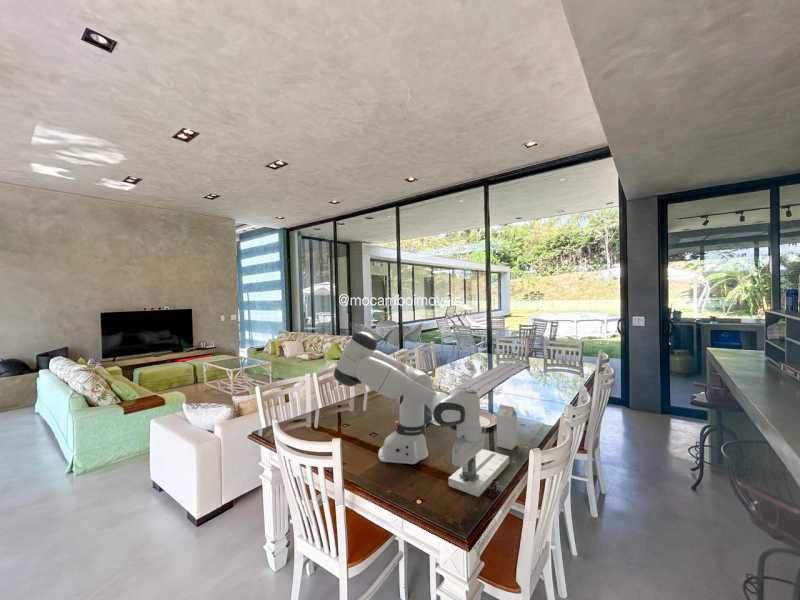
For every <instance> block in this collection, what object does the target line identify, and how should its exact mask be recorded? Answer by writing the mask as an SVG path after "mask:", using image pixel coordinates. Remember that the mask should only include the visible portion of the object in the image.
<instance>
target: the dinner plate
mask: <svg viewBox="0 0 800 600" xmlns="http://www.w3.org/2000/svg"><path fill="white" fill-rule="evenodd" d="M479 420H480V425H482V426H485V427H486V429H488V428H491V427H493V426H495V425H497V416H496V415H494V414H492V413H490V412H487V411H485V410H480V416H479Z"/></svg>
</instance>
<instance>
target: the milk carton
mask: <svg viewBox="0 0 800 600" xmlns="http://www.w3.org/2000/svg"><path fill="white" fill-rule="evenodd" d="M496 418H497V423H496V446H497V447H498V448H502V449H506V450H509V451H510V450H511V451H512V450H514V448H516V447H517V446H518V415H517V411H516V410H515V407H514V406H511V405H510V406H509V405H505V404H499V405H498V410H497V413H496Z"/></svg>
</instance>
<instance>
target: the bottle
mask: <svg viewBox="0 0 800 600" xmlns="http://www.w3.org/2000/svg"><path fill="white" fill-rule="evenodd" d="M418 370H421V371H423V372H425V373H426V374H427V375H428V374H429V373H428V372H429V371H428V369H427V368H425V367H420V368H418ZM428 376H429V375H428ZM431 420H432V421H433V415H432V412H431V410H430V409H429V408H428V406H427V405H425V404H424V422H425V424H427V423H426V422H429V423H431V422H432V421H431ZM430 421H431V422H430Z"/></svg>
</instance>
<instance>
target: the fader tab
mask: <svg viewBox="0 0 800 600" xmlns="http://www.w3.org/2000/svg"><path fill="white" fill-rule="evenodd" d="M468 466H469V471H468V472H464V471H463V466H462V471H463V472H462V473H461V474H460V475H459V476H461V477H464V478H466V479H469V480H472V481H475V480H476V479H477V478H478V477H479V474H476V460H475V459H472V458H471V459H470V460H469V461H468Z"/></svg>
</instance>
